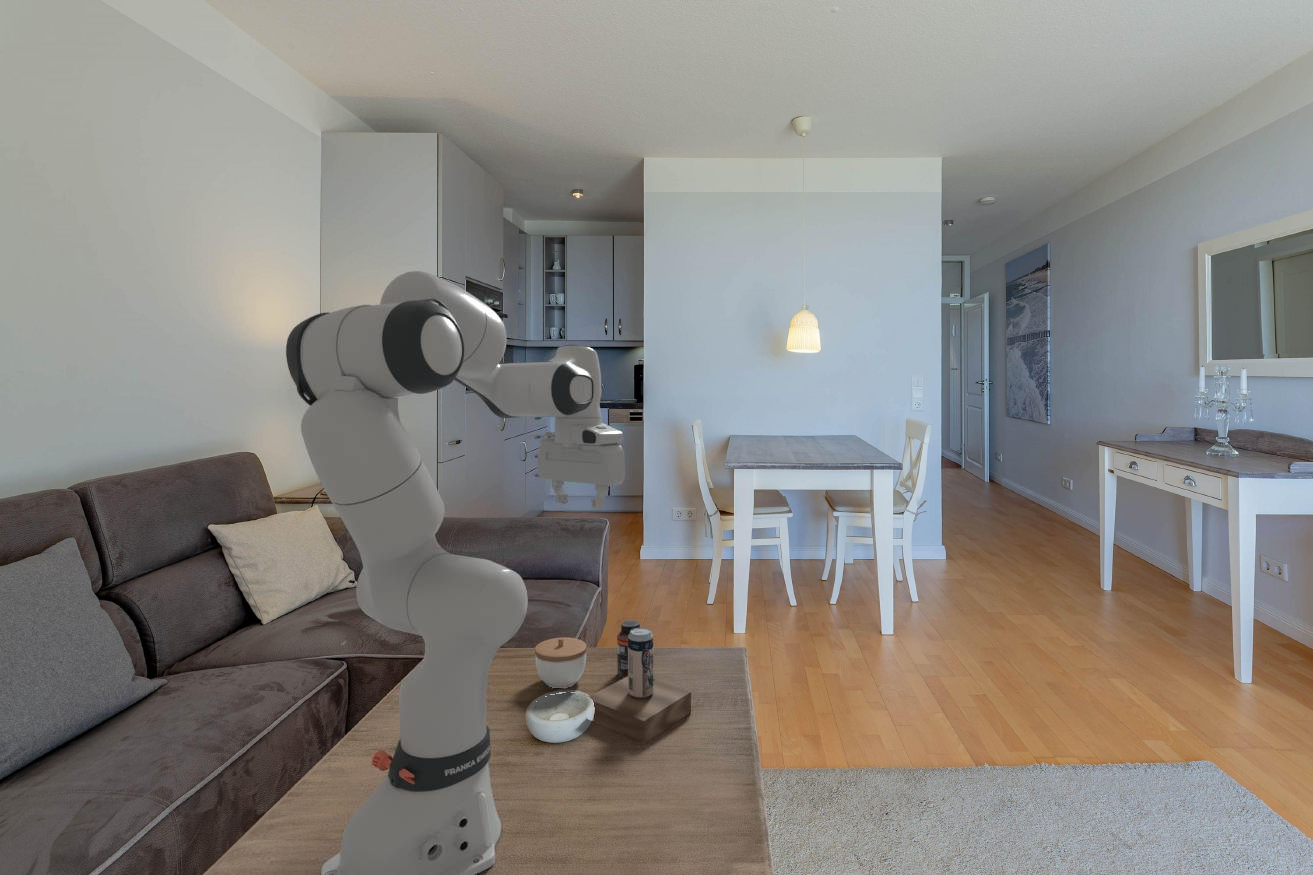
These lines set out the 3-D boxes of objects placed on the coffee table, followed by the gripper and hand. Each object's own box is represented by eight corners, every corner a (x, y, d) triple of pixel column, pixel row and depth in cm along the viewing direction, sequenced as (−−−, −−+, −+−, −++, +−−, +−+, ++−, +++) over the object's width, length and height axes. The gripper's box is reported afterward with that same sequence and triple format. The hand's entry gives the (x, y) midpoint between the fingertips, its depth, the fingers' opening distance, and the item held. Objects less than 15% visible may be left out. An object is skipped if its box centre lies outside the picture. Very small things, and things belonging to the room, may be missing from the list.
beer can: (651, 700, 120) (651, 636, 119) (625, 698, 121) (625, 635, 120) (655, 688, 125) (655, 627, 124) (631, 687, 125) (630, 625, 125)
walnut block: (644, 743, 113) (644, 720, 112) (585, 718, 121) (585, 698, 121) (691, 712, 124) (691, 691, 123) (634, 691, 132) (634, 672, 132)
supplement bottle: (646, 669, 143) (646, 618, 143) (643, 680, 137) (643, 628, 137) (619, 668, 144) (619, 617, 143) (615, 679, 138) (614, 627, 137)
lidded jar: (529, 677, 139) (528, 634, 139) (577, 668, 144) (577, 626, 143) (542, 698, 130) (542, 652, 129) (594, 688, 134) (593, 643, 134)
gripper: (528, 432, 127) (530, 502, 128) (606, 435, 114) (607, 513, 115) (552, 430, 132) (554, 498, 133) (630, 433, 119) (630, 508, 120)
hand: (579, 505), depth 124 cm, fingers open, 8 cm apart
